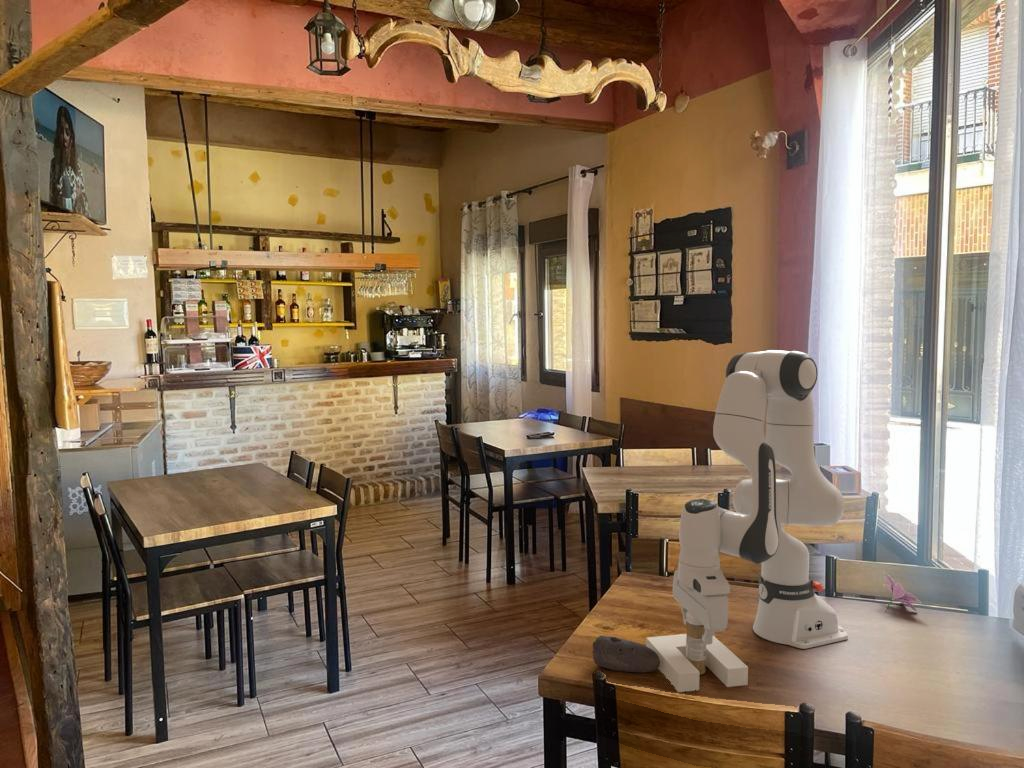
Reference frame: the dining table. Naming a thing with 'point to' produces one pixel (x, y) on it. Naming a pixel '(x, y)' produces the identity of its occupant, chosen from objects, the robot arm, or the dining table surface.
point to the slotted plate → (685, 673)
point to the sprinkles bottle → (695, 643)
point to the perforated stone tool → (624, 655)
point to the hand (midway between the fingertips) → (697, 633)
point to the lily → (900, 593)
